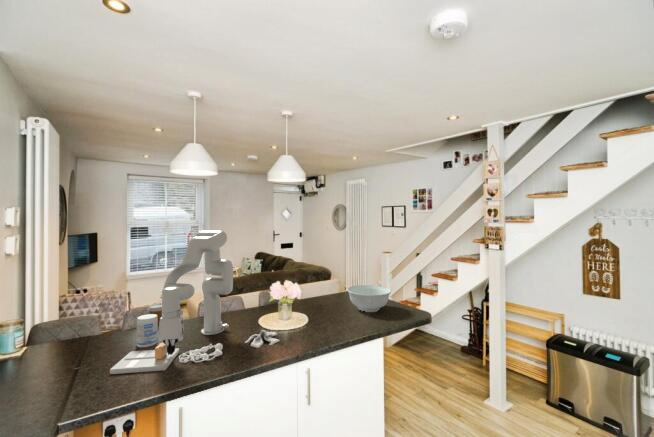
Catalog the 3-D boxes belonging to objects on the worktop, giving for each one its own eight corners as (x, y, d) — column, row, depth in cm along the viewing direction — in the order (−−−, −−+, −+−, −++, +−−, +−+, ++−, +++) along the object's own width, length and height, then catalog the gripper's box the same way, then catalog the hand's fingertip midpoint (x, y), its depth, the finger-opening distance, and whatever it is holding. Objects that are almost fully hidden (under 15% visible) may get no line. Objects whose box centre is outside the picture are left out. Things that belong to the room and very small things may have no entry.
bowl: (399, 308, 221) (399, 289, 221) (374, 319, 197) (374, 297, 198) (364, 300, 243) (364, 282, 243) (337, 309, 220) (337, 289, 220)
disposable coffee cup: (166, 325, 187) (166, 306, 187) (148, 328, 181) (148, 309, 181) (164, 321, 195) (164, 303, 195) (147, 324, 189) (147, 305, 189)
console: (179, 352, 149) (179, 345, 149) (165, 370, 131) (165, 362, 131) (130, 355, 145) (130, 348, 145) (109, 374, 127) (109, 365, 127)
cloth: (274, 332, 177) (274, 321, 177) (285, 343, 161) (285, 331, 161) (235, 339, 166) (235, 328, 166) (244, 352, 150) (244, 339, 150)
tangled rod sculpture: (176, 370, 133) (175, 361, 133) (181, 354, 147) (181, 346, 147) (222, 363, 139) (221, 354, 139) (223, 347, 153) (222, 340, 152)
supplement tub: (146, 349, 152) (146, 320, 152) (131, 347, 155) (132, 318, 155) (161, 341, 162) (161, 314, 162) (148, 339, 164) (148, 313, 165)
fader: (167, 353, 142) (167, 342, 142) (162, 358, 136) (162, 347, 136) (160, 353, 142) (160, 342, 142) (154, 359, 136) (155, 348, 136)
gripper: (190, 310, 145) (190, 348, 144) (157, 312, 142) (157, 351, 142) (185, 315, 137) (185, 355, 137) (150, 317, 135) (150, 358, 135)
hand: (171, 353), depth 140 cm, fingers closed
